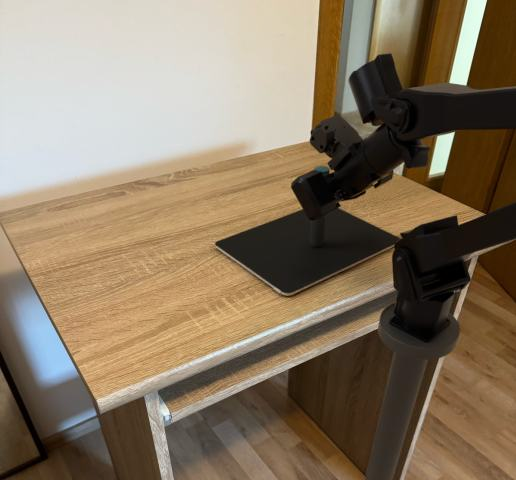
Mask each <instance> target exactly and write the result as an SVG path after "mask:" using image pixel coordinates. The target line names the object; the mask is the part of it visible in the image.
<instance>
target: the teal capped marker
mask: <svg viewBox="0 0 516 480" xmlns="http://www.w3.org/2000/svg"><path fill="white" fill-rule="evenodd" d="M313 170H317V171H322V173H323V175H324V176H326V175H328V174H330V173H331V172H330V171H331V169H330V167H329V166H326V165H317V166H315V167H314V168H313ZM325 220H326V214H325V215H324V216H322V217H320V218H318V219H316V220H314V221H312V220H311V227H310V245H312V246H315V247H319V246H322V245H323V240H324V232H325Z"/></svg>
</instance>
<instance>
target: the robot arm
mask: <svg viewBox="0 0 516 480" xmlns="http://www.w3.org/2000/svg"><path fill="white" fill-rule="evenodd" d="M347 81H348V84H349V88H350V91H351V93H352V96H353V99H354V102H355V105H356V107H357V111H358V114H359V116H360V119H361V122H362V124H363V125H365V124H371V126H373V127H377V128H375V130H373V131H372V132H371V133H370V134H368V135H367V136H366V137H365V138H362V136H361V135H360V134H359V132H358V131H357V130H356V129H355V128H354V126H352V125H351V124H350V123H349V122H348V121H347V120H346V119H345V118H343V117H342V116H340V115H333V116H331V117H327V118H325V119H322V120H321V121H320V122H319V123H318V124H316V126H315V127H314V128H313V129H311V130H310V137H309V144H310V146H312V147H313V148H314V149H315V150H316V151H317V152H318V153H319V154H323V153H324V154H325V155H326V156H327V157H328V158H330V160H329V161H328V162H327V165H328V167H329V169H330V171H333V172H329V174H328V175H326V176H324V175H323V173H322V171H317V170H314V169H313V170H309V171H308V172H305V173H303V174H301V175H299V176H297V177H296V178H295V179H294V180H293V181H292V182H291V184H290V189H291V190H292V193H293V194H294V196H295V198H296V199H297V201H298V203H299V205H300V206H301V208H302V209H303V210H304V212H305V214H306V215H307V217H308V219H310V220H312V221H314V220H316V219H318V218H320V217H322V216H324V215H325V214H327V213H329V212H331V211H333V210H335V209H337V208H339V209H340V208H341V207H342V205H341V204H340V203H341V202H346V201H347V202H348V201H352V200H356V199H358V198H360V197H363V196H364V195H366V193H367V190H369V189H371V188H372V187H373V189H374V190H376V189H379V188H381V187H382V186H384V185H385V184H387V183H388V182H390V181H391V180H392V179H393V178H394V172H395V169H397V168H398V167H400V166H401V165H402V164H404V165H405V168H406V169H407V170H411V169H421V168H427V166H428V162H429V153H430V150H431V146H430V145H429V146H428V145H425V143H424V141H423V140H425V139H430V138H435V137H440V136H445V135H449V134H453V133H456V132H457V133H458V132H461V131H482V130H483V131H486V130H487V131H488V130H489V131H490V130H492V131H493V130H516V85H515V86H505V87H495V88H486V89H485V88H484V89H478V88H471V87H470V86H468V85H466V84H460V83H452V82H441V83H435V84H429V85H428V84H427V85H422V86H414V87H409V88H403V85H402V83H401V81H400V78H399V75H398V72H397V68H396V63H395V60H394V57H393V54H392V52H388V53H379V54H377V55H376V57H375V58H374V59H373V60H371V61H368V62H366V63H364V64H363V65H361V66H360V67H359V68H357V69H356V70H353V71H352V72H351V73H350V75H349V77H348V80H347ZM458 219H459V218H458V215H457V214H455V215H450V216H447V217H444V218H440V219H436V220H432V221H428V222H425V223H422V224H419V225H418V226H416V227H414V228H412V229H410V230H406V231H403V232H400V233H399V235H400V237H401V238H400V239H399V240H398V241H396V243H395V245H394V250H393V252H392V253H391V267H392V284H393V288H394V290H396V291H397V295H396V300H395V302H394V303H395V308H394V314H396V315H395V316H394V317H393V318H391V319H390V320H389V324H390V325H392V326H394V327H396V328H398V329H400V330H402V331H404V332H406V333H408V334H410V335H412V336H414V337H415V338H417V339H419V340H421V341H423V342H425V343H429V342H430V341H431V340H432V339H434V338H435V337H436V336H437V335H438V334H439V333H440V332H441V331H443V330H444V329H445V328H446V327H447V326H448V325H449V324H450V322H451V320H450V319H448V318H447V317H448V314H449V313H450V310H451V307H452V305H453V301H454V297H455V294H456V292H457V291H462V290H464V289H466V287H468V285H469V284H470V282H471V281H472V279H471V278H472V277H471V275H470V272H469V269H468V266H467V263H466V261H467V260H468V259H469V258H470V257H471V256H472V255H473V254H475V253H478V252H480V251H485V250H487V249H490V248H493V247H496V246H500V245H503V244H506V243H509V242H512V241H516V201H515V202H512V203H510V204H506V205H504V206H502V207H499V208H498V209H495V210H492V211H490V212H488V213H485V214H482V215H480V216H478V217H475V218H473V219H470V220H468V221H465V222H463V223H461V224H459V220H458Z"/></svg>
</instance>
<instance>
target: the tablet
mask: <svg viewBox="0 0 516 480" xmlns="http://www.w3.org/2000/svg"><path fill="white" fill-rule="evenodd" d="M310 227H311V220H310V219H308V217H307V215H306V214H305V212H304V210H303V208H302V209H300V210H296V211H295V212H291V213H289V214H286V215H283V216H281V217H278V218H276V219H273V220H270V221H267V222H265V223H262V224H259V225H257V226H255V227H251V228H249V229H246V230H242V231H240V232H238V233H236V234H233V235H230V236H227V237H224V238H222V239H219V240H217V241H215V242H214V246H215V248H216V249H217V250H219V252H221V253H223V255H225V256H227V257H228V258H230V259H231V260H233V261H234V262H235V263H237V264H238V265H239V266H241V267H243V268H244V269H245V270H247V271H248V272H250V273H251V274H252V275H254V276H256V277H257V278H259V279H260V281H262V282H264V283H265V284H266V285H268V286H270V287H271V288H272V289H273V290H274V291H276V292H277V293H278V294H282V295H283V296H287V297H289V296H293V295H295V294H297V293H300V292H301V291H305V289H308V288H310V287H313V286H314V285H316V284H319V283H321V282H322V281H325V280H327V279H329V278H331V277H333V276H335V275H338V274H339V273H341V272H344V271H346V270H348V269H350V268H352V267H354V266H356V265H358V264H361V263H363V262H365V261H367V260H369V259H371V258H373V257H375V256H377V255H379V254H381V253H383V252H386V251H388V250H390V249H392V248H393V247H394V245H395V243H396V241H398V240H399V239H401V238H400V237H398V236H396V235H394V234H392V233H390V232H389V231H387V230H384V229H383V228H380V227H378V226H376V225H374V224H372V223H369V221H365V220H363V218H362V219H361V218H359V217H358V216H356V215H353V214H351V213H350V212H348V211H345V210H343V209H341V208H340V207H339V208H337V209H335V210H333V211H331V212H329V213H327V214H326V220H325V232H324V240H323V245H322V246H319V247H315V246H312V245H310Z"/></svg>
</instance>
